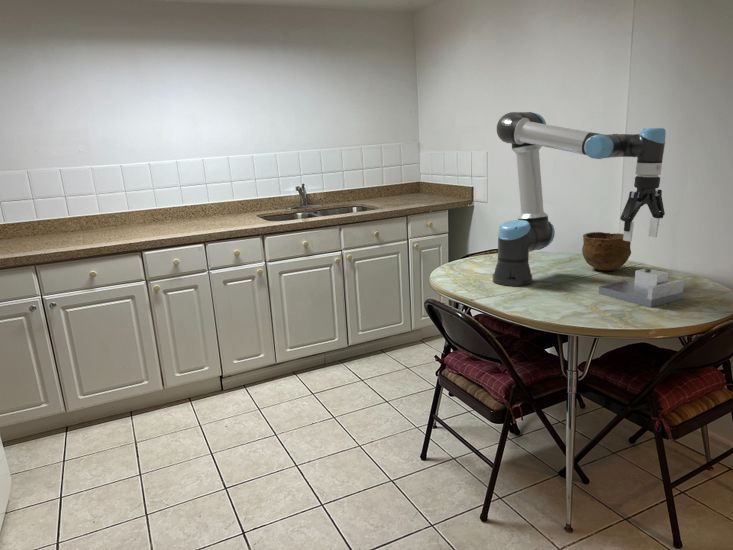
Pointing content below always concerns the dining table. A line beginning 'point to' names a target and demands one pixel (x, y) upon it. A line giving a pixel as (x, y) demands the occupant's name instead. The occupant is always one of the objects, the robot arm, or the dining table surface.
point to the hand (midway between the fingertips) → (640, 238)
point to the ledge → (653, 298)
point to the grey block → (648, 279)
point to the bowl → (605, 250)
